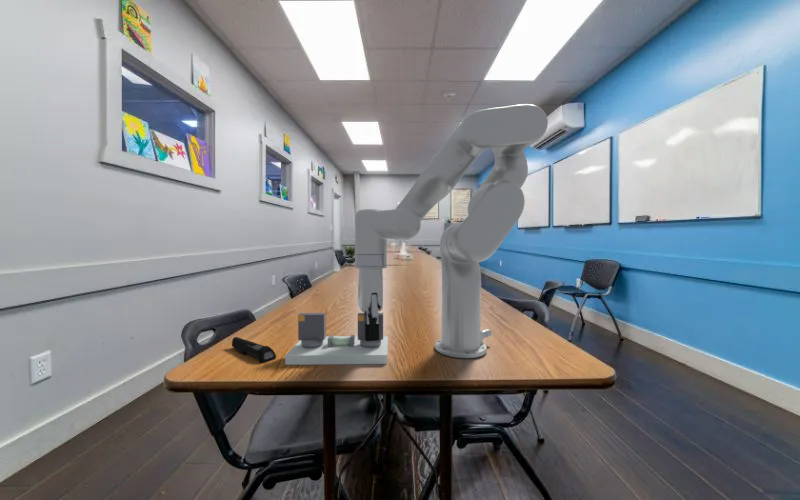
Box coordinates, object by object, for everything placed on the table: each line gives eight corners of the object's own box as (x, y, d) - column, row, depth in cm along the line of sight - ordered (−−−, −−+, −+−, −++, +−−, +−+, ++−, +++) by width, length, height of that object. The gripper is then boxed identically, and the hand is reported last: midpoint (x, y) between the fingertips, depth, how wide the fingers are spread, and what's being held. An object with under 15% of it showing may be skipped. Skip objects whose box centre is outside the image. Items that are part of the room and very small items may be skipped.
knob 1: (327, 340, 73) (327, 311, 73) (322, 347, 68) (322, 316, 68) (302, 340, 73) (302, 311, 73) (296, 347, 68) (296, 316, 68)
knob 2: (383, 340, 74) (383, 311, 73) (382, 347, 69) (382, 316, 68) (359, 340, 73) (359, 311, 73) (356, 347, 68) (356, 316, 68)
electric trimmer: (243, 346, 77) (242, 334, 77) (277, 359, 68) (277, 345, 68) (227, 350, 74) (227, 338, 74) (261, 364, 65) (261, 350, 65)
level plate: (387, 343, 78) (387, 328, 78) (386, 364, 65) (386, 345, 65) (303, 344, 77) (303, 328, 77) (285, 364, 64) (285, 346, 64)
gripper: (352, 260, 77) (352, 329, 78) (358, 264, 62) (358, 351, 62) (380, 259, 79) (380, 327, 80) (393, 263, 64) (393, 348, 64)
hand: (371, 337), depth 71 cm, fingers closed on knob 2, 2 cm apart
